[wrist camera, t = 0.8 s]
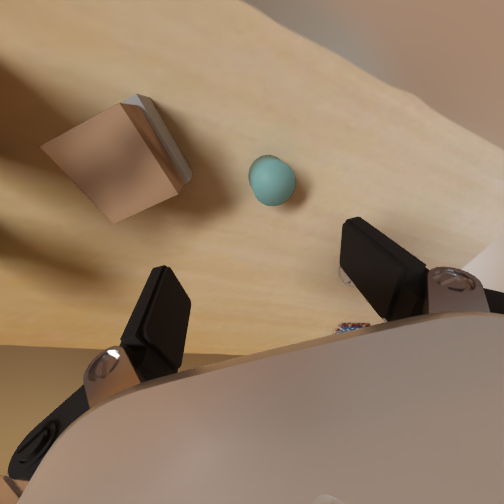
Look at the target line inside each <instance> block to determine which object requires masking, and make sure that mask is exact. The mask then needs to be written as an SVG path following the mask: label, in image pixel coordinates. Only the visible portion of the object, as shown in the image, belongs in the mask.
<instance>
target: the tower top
mask: <svg viewBox="0 0 504 504" xmlns="http://www.w3.org/2000/svg"><path fill="white" fill-rule="evenodd" d="M39 147H40V148H41V149H42V150H43V151H44V152H45V153H46V154H47V155H48V156H49V157H50V158H51V159H52V160H53V161H54V162H55V163H56V165H57V166H58V167H59V168H60V169H61V170H62V171H63V172H64V173H65V174H66V175H67V176H68V177H69V178H70V179H71V180H72V181H73V182H74V183H75V184H76V186H77V187H78V188H79V189H80V190H81V191H82V192H83V193H84V194H85V195H86V196H87V197H88V198H89V199H90V200H91V201H92V202H93V203H94V204H95V205H96V207H97V208H98V209H99V210H100V211H101V212H102V213H103V214H104V215H105V216H106V217H107V218H108V219H109V220H110V221H111V222H112V223H113V224H115V223H117V222H119V221H121V220H123V219H126V218H128V217H130V216H132V215H134V214H137V213H139V212H141V211H143V210H145V209H147V208H150V207H152V206H154V205H156V204H158V203H160V202H163V201H165V200H167V199H169V198H171V197H173V196H176V195H178V194H179V192H180V190H181V189H182V187H183V185H184V184H185V181H184V179H183V178H182V176H181V174H180V173H179V171H178V169H177V168H176V166H175V164H174V163H173V161H172V159H171V158H170V156H169V154H168V153H167V151H166V149H165V148H164V146H163V144H162V143H161V141H160V139H159V138H158V136H157V134H156V133H155V131H154V129H153V128H152V126H151V124H150V123H149V121H148V119H147V118H146V116H145V114H144V113H143V111H142V109H141V108H140V106H138V105H131V104H124V103H118V104H116V105H114V106H112V107H111V108H109V109H107V110H105V111H103V112H101V113H100V114H98V115H96V116H94V117H92V118H90V119H89V120H87V121H85V122H83V123H81V124H79V125H78V126H76V127H74V128H72V129H70V130H69V131H67V132H65V133H63V134H61V135H59V136H58V137H56V138H54V139H52V140H50V141H48V142H47V143H45V144H43V145H41V146H39Z"/></svg>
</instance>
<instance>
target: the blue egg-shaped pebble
mask: <svg viewBox="0 0 504 504" xmlns="http://www.w3.org/2000/svg"><path fill="white" fill-rule="evenodd" d="M249 182H250V185H251V187H252V189H253V192H254V194H255V196H256V198H257V199H258V200H259V201H260V202H261V203H263V204H265V205H268V206H277V205H280V204H282V203H284V202H285V201H287V200H288V199H289V198H290V196H291V195H292V193H293V191H294V189H295V184H296V180H295V175H294V172H293V171H292V169H291V168H290V167H289V166H288V165H286V164H285V163H284V162H282V161H281V160H280V159H278V158H277V157H275V156H272V155H265V156H261V157H259V158H258V159H256V160H255V161H254V162H253V164H252V165H251V167H250V170H249Z"/></svg>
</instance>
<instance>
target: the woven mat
mask: <svg viewBox="0 0 504 504" xmlns="http://www.w3.org/2000/svg"><path fill="white" fill-rule="evenodd" d="M339 324H341V325H340V326H338V328H336V329H338V330H335V331H334V332H333V335H334V334H338V333H343V332H347V331H351V330H355V329H360V328H364V327H368V326H370V324H366V323H339Z"/></svg>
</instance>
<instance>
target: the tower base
mask: <svg viewBox="0 0 504 504" xmlns="http://www.w3.org/2000/svg"><path fill="white" fill-rule="evenodd" d="M121 103H124V104H131V105H138V106H140V108H141V109H142V111H143V113H144V114H145V116H146V118H147V119H148V121H149V123H150V124H151V126H152V128H153V129H154V131H155V133H156V134H157V136H158V138H159V139H160V141H161V143H162V144H163V146H164V148H165V149H166V151H167V153H168V154H169V156H170V158H171V159H172V161H173V163H174V164H175V166H176V168H177V169H178V171H179V173H180V174H181V176H182V178H183V179H184V181H185V184H186V183H188V182H190V179H191V177H192V175H193V172H192V171H191V169H190V167H189V165H188V164H187V162H186V160H185V158H184V157H183V155H182V153H181V151H180V150H179V148H178V146H177V144H176V143H175V141H174V139H173V137H172V136H171V134H170V132H169V130H168V129H167V127H166V125H165V123H164V122H163V120H162V118H161V116H160V115H159V113H158V111H157V109H156V108H155V106H154V104H153V102H152V101H151V99H150V97H146V96H142V95H139V94H135V95H134V96H132V97H130V98H128V99H127V100H125V101H123V102H121Z"/></svg>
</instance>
